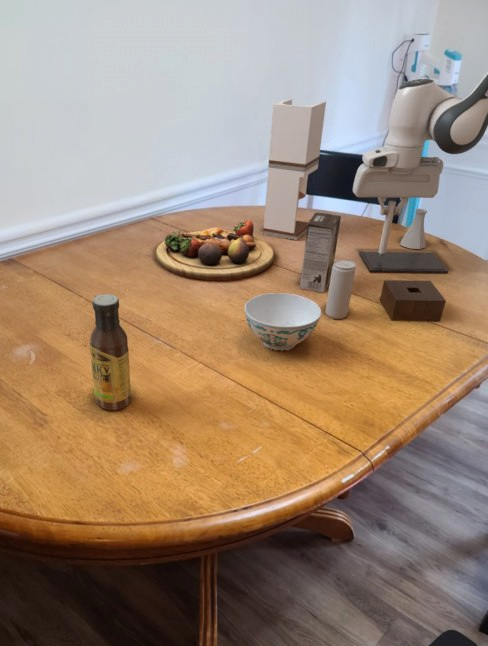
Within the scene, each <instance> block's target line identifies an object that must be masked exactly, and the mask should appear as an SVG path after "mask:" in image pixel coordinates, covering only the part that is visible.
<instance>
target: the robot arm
mask: <svg viewBox="0 0 488 646" xmlns="http://www.w3.org/2000/svg"><path fill="white" fill-rule="evenodd" d="M487 129H488V71H487V72H486V73H485V74H484V76H483V77H482V78H481V80H480V81H479V82H478V83H477V85H476V86H475V88H473V90H472V91H471V93H469V95H467V96H466V97H465V98H461V97H459V96H457V95H454V94H452V93H450V92H449V91H446V90H445V89H443V88H442V87H441V86H439V85H438V84H437V83H436V82H435V80H433V79H431V78H418V79H413V80H410V81H409V80H408V81H406V82H404V83H403V84H401V85H400V86H399V87H398V88H397V91H396V92H395V96H394V99H393V101H392V105H391V110H390V115H389V120H388V133H387V136H386V138H385V141H384V145H383V146H381V147H378V148H375V149H371V150H369V151H366V152H363V154H362V157H361V158H362V162H363V163H361V164H360V166H359V167H358V168H357V170H356V173H355V177H354V181H353V185H352V193H353V194H354V195H355V197H356V198H377V200H378V203H379V206H380V211H379V213H380V216H386V215H387V214H388V210H389V208H388V206H385V202H386V201H387V198H392V199H393V198H394V199H395V198H398V199H399V200H400V201H399V203H398V204H397V206H395V210H394V215H393V216H401V213H402V209H403V208H404V207H405V206H406V205H407V203H408V202H409V198H410V199H414V198H415V199H418V198H419V199H433V198H434V197H435V196H437V194H438V192H439V186H440V177H441V174H442V173H443V169H444V161H443V160H442V159H441V158H440V157H438V156H433V157H432V156H431V157H429V156H422V155H423V151H424V146H425V143H426V141H433V142H435V143H436V145H437V147H438V148H439V149H440V150H441V151H442V152H444V153H446V154H449V155H461V154H463V153H466V152H468V151H470V150H472V149H473V148H475V146H477V145H478V144H479V142H480V141H481V140H482V139H483V137H484V135H485V132H486V131H487Z"/></svg>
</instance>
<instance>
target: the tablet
mask: <svg viewBox="0 0 488 646" xmlns="http://www.w3.org/2000/svg"><path fill="white" fill-rule="evenodd" d="M358 255H359V257H360V259H361V260H362V263H363V264H364V266H365V267H366V269H367V271H368V272H369V274H370V273H371V274H373V273H375V274H376V273H377V274H378V273H379V274H438V275H439V274H441V275H443V274H444V275H445V274H446V275H448V273H449V270H448V269H447V268H446V266H445V265H444V264H443V263H442V262H441V260H440V259H439V258H438V257H437V256H436V255H435V254H434V252H432V251H431V252H427V251H423V252H421V251H420V252H419V251H418V252H417V251H386V253H385V254H384V256H379V251H358Z"/></svg>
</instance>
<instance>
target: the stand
mask: <svg viewBox="0 0 488 646" xmlns="http://www.w3.org/2000/svg"><path fill="white" fill-rule="evenodd" d="M379 301H380V303H381V304H382V306H383V308H384V311H385V312H386V314H387V315H388V317H389V319H390V321H391V322H440V323H441V319H442V317H443V314H444V309H445V306H446V302H447V299H446V298H444V296H443V294H442V293H441V292H440V291H439V290H438V288H437V287H436V285H434V283H433V282H432V281H431V280H410V279H409V280H404V279H403V280H401V279H398V280H397V279H384V280H383V284H382V288H381V292H380V297H379Z"/></svg>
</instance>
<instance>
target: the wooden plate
mask: <svg viewBox="0 0 488 646" xmlns="http://www.w3.org/2000/svg"><path fill="white" fill-rule="evenodd" d="M233 228H234V229H233V230H232V231H229V230H227V229H224V228H222V227H211V228H207V229H203V230H200V231H199V230H198V231H191V232H190V231H189V232H185V233H181V231H182V230H181V231H180V230H179V231H178V232H175V231H172V232H169V233H168V234H166V236H165V238H164V241H162V242H161V243H160V244H159V245H158V246H157V248H156V251H155V258H156V260H157V262H158V263H159V265H161V266H162V267H163V268H164V269H166V270H167V271H169V272H171V273H173V274H176V275H179V276H181V277H186V278H192V279H197V280H204V281H205V280H206V281H226V280H235V279H241V278H246V277H250V276H254V275H256V274H259V273H261V272H263V271H265V270H267V269H268V268H269V267H270V266H271V265H272V264H273V262H274V259H275V253H274V249H273V248H272V246H270V244H268V243H267V242H266V241H264V240H263V239H261V238H258V237H256V236H254V229H255V227H254V223H253V221H252V220H249V219H247V220H244V222H243V221H240V222H239V223H237V226H233Z"/></svg>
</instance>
